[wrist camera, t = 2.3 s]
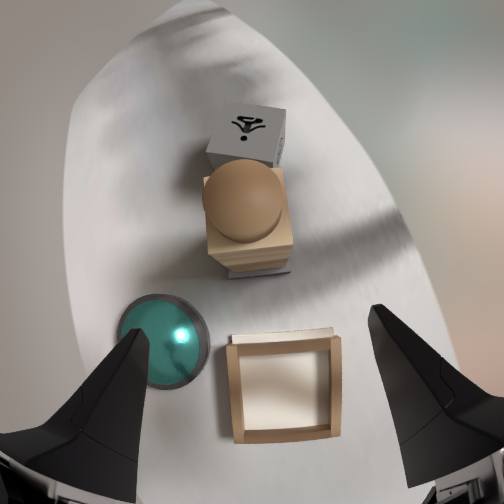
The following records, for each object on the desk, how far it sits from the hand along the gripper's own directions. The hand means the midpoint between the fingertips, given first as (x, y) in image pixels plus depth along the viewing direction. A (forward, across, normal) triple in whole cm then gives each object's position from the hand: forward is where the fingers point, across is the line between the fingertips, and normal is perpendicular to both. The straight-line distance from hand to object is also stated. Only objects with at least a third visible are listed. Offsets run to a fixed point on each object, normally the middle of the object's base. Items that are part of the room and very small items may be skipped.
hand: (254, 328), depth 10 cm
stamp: (+12, 0, +5) cm, 13 cm away
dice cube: (+18, 0, -1) cm, 18 cm away
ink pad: (+7, +9, +10) cm, 15 cm away
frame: (+4, -1, +13) cm, 14 cm away
